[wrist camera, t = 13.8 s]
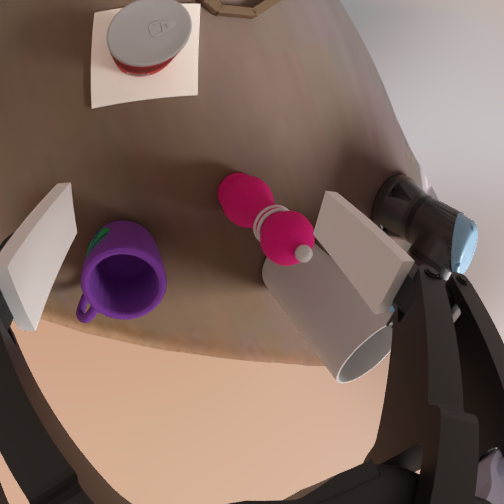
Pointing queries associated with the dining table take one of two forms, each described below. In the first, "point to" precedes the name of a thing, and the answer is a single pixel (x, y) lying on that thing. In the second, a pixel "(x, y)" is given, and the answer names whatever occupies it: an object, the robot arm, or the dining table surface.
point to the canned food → (148, 35)
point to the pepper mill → (267, 219)
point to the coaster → (147, 87)
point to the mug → (121, 273)
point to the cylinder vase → (330, 314)
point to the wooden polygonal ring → (236, 8)
